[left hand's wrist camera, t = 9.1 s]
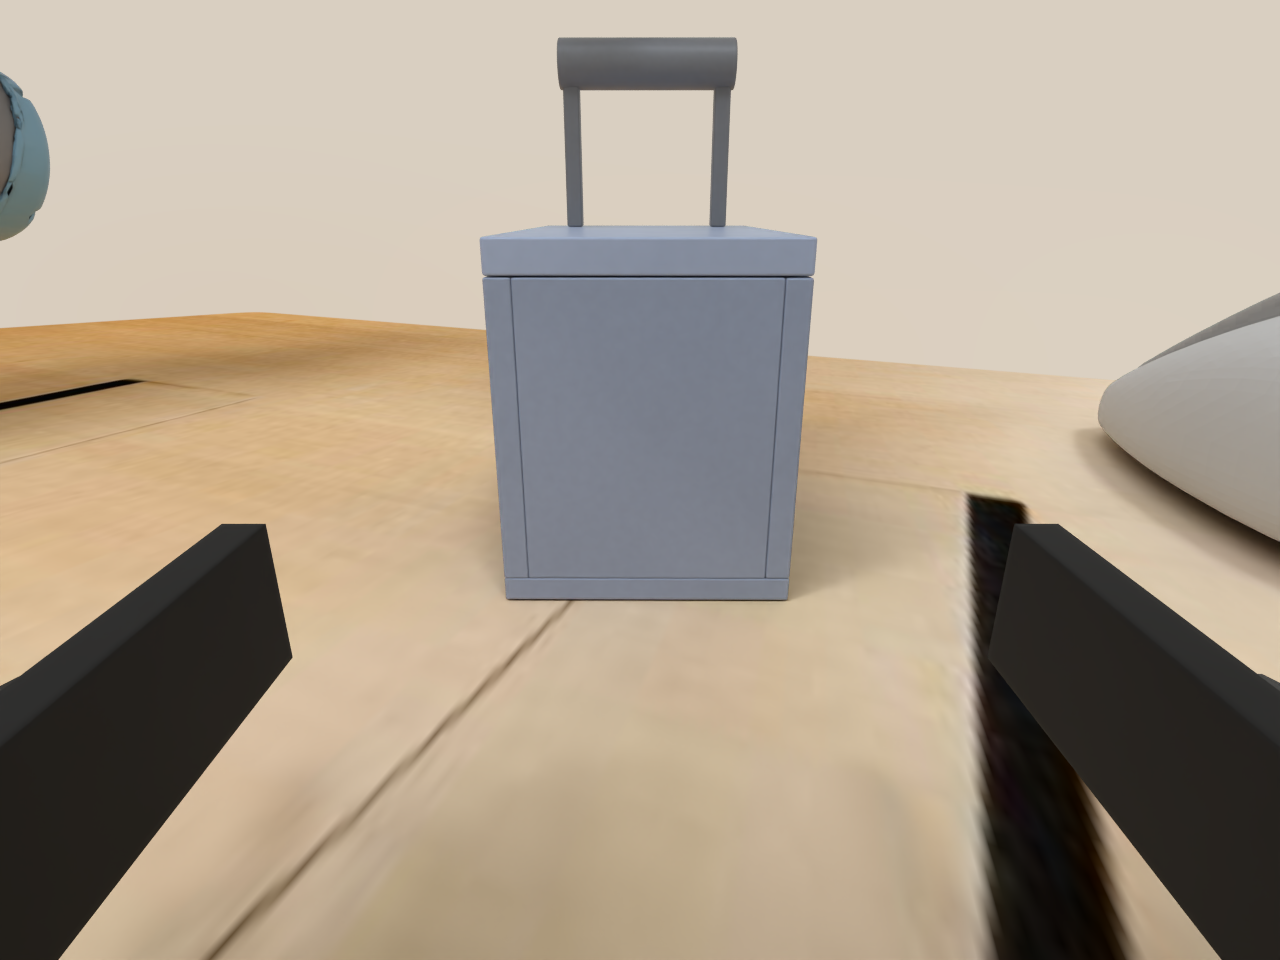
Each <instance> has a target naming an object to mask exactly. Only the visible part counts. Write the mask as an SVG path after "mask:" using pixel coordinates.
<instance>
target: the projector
mask: <svg viewBox="0 0 1280 960" xmlns="http://www.w3.org/2000/svg"><path fill="white" fill-rule="evenodd" d="M1098 421H1099V424H1100V426H1101V427H1102V428H1103V430H1104V431H1105V432H1106V433H1107V434H1108V435H1109V436H1110V437H1111V438H1112V440H1113V441H1115V442H1116V443H1117V444H1118V445H1119V446H1120V447H1121V448H1123V449H1124V450H1125V451H1126V452H1127V453H1129V454H1130V455H1131V456H1132V457H1134V458H1135V459H1136V460H1138V461H1139V462H1140V463H1142V464H1143V465H1144V466H1146V467H1147V468H1149V469H1150V470H1152V471H1153V472H1155V473H1156V474H1157V475H1159V476H1160V477H1162V478H1164V479H1165V480H1167V481H1168V482H1170V483H1172V484H1173V485H1175V486H1176V487H1178V488H1180V489H1181V490H1183V491H1185V492H1186V493H1188V494H1190V495H1192V496H1193V497H1195V498H1197V499H1199V500H1200V501H1202V502H1204V503H1206V504H1207V505H1209V506H1211V507H1213V508H1214V509H1216V510H1218V511H1220V512H1221V513H1223V514H1225V515H1227V516H1229V517H1231V518H1233V519H1235V520H1237V521H1239V522H1241V523H1243V524H1245V525H1247V526H1249V527H1250V528H1252V529H1254V530H1256V531H1258V532H1260V533H1262V534H1264V535H1266V536H1268V537H1270V538H1273V539H1275V540H1277V541H1279V542H1280V293H1278V294H1276V295H1274V296H1272V297H1270V298H1268V299H1265V300H1263V301H1261V302H1259V303H1257V304H1255V305H1252V306H1250V307H1248V308H1246V309H1244V310H1242V311H1240V312H1238V313H1236V314H1234V315H1232V316H1230V317H1228V318H1226V319H1224V320H1222V321H1220V322H1218V323H1216V324H1214V325H1212V326H1211V327H1208V328H1206V329H1205V330H1203V331H1201V332H1199V333H1197V334H1195V335H1193V336H1191V337H1189V338H1187V339H1186V340H1184V341H1182V342H1180V343H1178V344H1176V345H1175V346H1173V347H1171V348H1169V349H1167V350H1166V351H1164V352H1162V353H1160V354H1159V355H1157V356H1155V357H1154V358H1152V359H1150V360H1148V361H1147V362H1145V363H1143V364H1142V365H1141V366H1139V367H1138V368H1137V369H1135V370H1133V371H1131V372H1129V373H1127V374H1126V375H1124V376H1122V377H1121V378H1119V379H1117V380H1116V381H1114V382H1113V383H1112V384H1110V385H1109V386H1108V387H1107V389H1106V390H1105V392H1104V394H1103V396H1102V398H1101V401H1100V404H1099V410H1098Z"/></svg>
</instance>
